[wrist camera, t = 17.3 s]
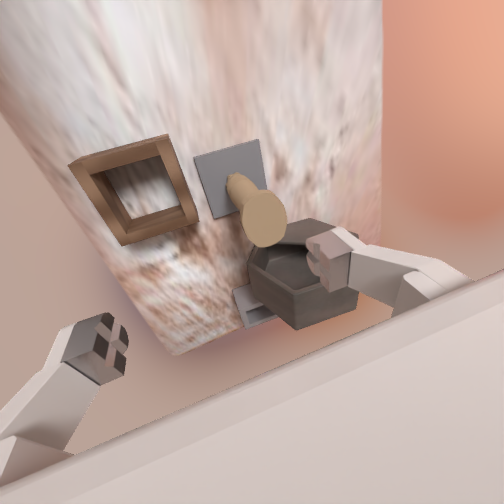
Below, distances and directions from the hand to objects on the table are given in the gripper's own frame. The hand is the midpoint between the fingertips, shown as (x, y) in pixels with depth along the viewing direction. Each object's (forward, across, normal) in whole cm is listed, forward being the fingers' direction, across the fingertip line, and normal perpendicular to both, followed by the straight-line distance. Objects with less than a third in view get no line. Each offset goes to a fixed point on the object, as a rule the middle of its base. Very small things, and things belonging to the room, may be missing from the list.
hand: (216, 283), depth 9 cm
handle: (+29, -6, +7) cm, 30 cm away
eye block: (+30, +7, +4) cm, 31 cm away
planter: (+29, -13, +22) cm, 39 cm away
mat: (+29, -6, +7) cm, 31 cm away
